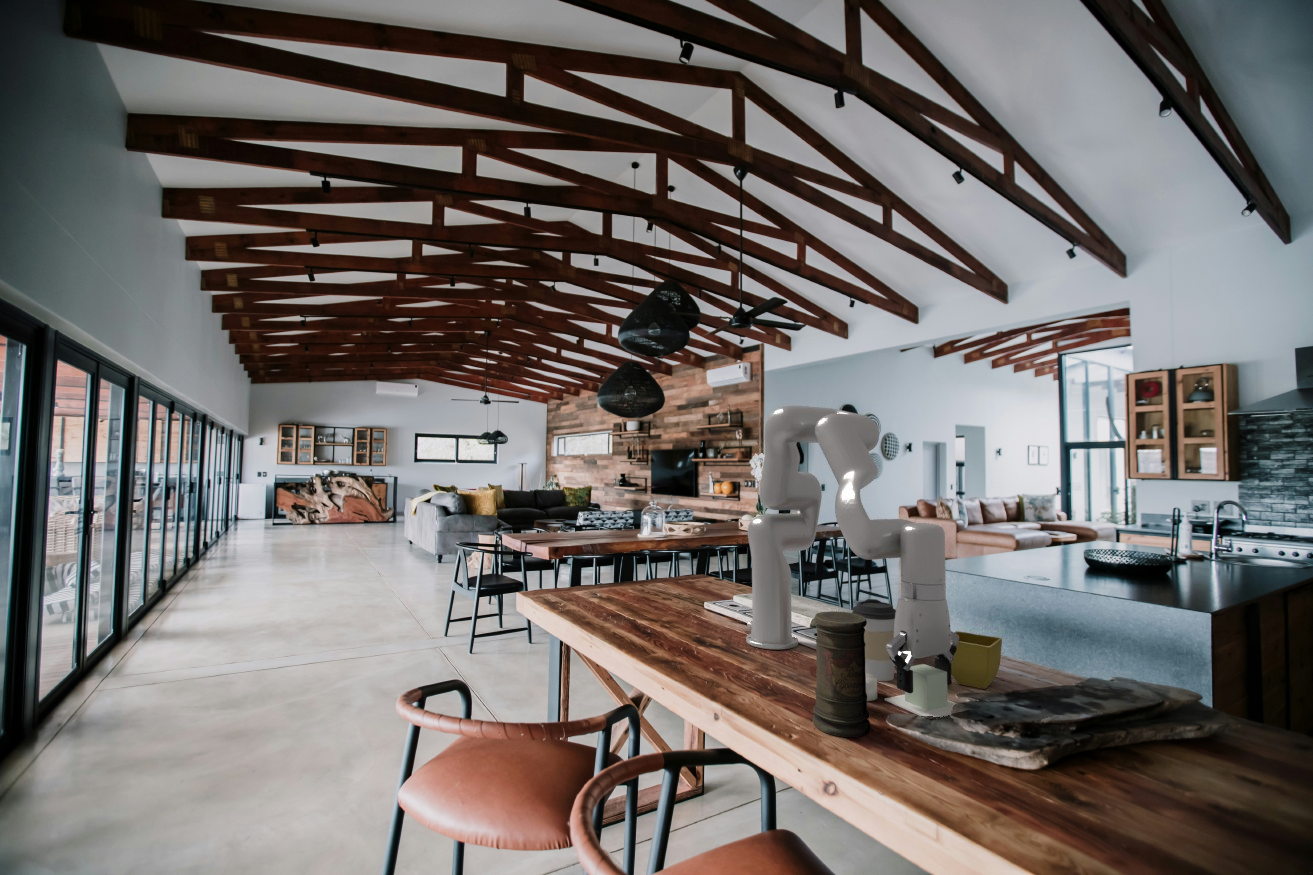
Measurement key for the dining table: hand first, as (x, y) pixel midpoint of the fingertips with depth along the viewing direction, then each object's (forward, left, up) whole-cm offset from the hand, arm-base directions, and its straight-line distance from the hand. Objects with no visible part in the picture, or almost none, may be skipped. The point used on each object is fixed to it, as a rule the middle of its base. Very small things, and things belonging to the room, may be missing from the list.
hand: (924, 686), depth 111 cm
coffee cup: (-16, +4, -3) cm, 17 cm away
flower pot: (-4, +18, -3) cm, 19 cm away
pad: (0, 0, -3) cm, 3 cm away
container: (+1, -20, -3) cm, 21 cm away
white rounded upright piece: (-9, -7, -3) cm, 12 cm away
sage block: (0, 0, -3) cm, 3 cm away
